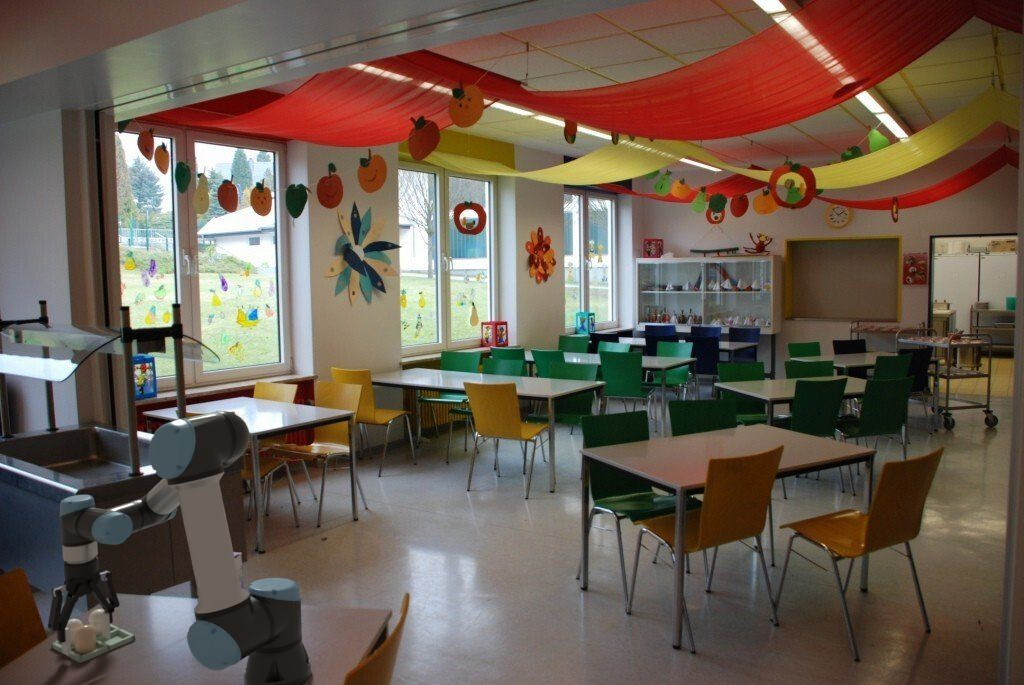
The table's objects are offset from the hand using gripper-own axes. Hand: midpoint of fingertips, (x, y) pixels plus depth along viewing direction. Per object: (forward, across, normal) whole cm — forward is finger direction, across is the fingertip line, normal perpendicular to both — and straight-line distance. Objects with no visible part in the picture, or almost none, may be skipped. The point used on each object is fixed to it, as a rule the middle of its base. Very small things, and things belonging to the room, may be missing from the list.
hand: (86, 645), depth 195 cm
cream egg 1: (+2, 0, -7) cm, 7 cm away
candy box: (+3, -31, +11) cm, 33 cm away
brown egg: (+2, 0, 0) cm, 2 cm away
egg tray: (+3, -3, -3) cm, 5 cm away
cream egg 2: (+2, -7, -7) cm, 10 cm away
